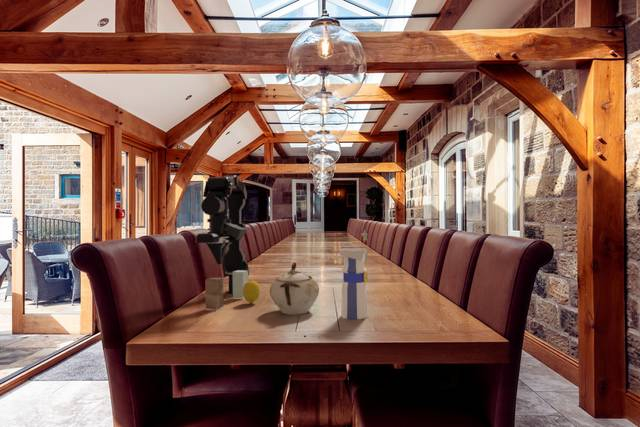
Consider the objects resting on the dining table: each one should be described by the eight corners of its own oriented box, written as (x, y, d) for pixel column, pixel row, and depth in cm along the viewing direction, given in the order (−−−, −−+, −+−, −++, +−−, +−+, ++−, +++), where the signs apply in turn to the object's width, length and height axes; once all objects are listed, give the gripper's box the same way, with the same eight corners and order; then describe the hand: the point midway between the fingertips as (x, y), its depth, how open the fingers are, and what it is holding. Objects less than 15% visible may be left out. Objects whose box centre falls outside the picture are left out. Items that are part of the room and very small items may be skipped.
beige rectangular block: (212, 307, 141) (212, 277, 141) (223, 307, 140) (223, 278, 140) (205, 309, 137) (205, 279, 137) (217, 310, 136) (216, 280, 136)
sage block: (238, 296, 158) (237, 270, 158) (248, 297, 157) (248, 270, 156) (232, 298, 154) (232, 271, 154) (243, 299, 153) (242, 272, 153)
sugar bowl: (313, 320, 122) (312, 266, 122) (261, 319, 125) (260, 266, 125) (323, 305, 142) (323, 258, 142) (279, 304, 144) (278, 258, 144)
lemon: (261, 302, 148) (261, 278, 148) (257, 305, 142) (257, 281, 142) (245, 301, 148) (245, 278, 148) (241, 305, 143) (240, 280, 143)
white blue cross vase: (371, 313, 130) (370, 228, 129) (366, 320, 121) (365, 230, 121) (344, 311, 132) (343, 228, 132) (337, 318, 124) (336, 230, 123)
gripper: (227, 215, 130) (227, 267, 130) (254, 215, 148) (254, 261, 148) (194, 215, 133) (194, 267, 133) (224, 216, 151) (225, 261, 151)
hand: (219, 264), depth 141 cm, fingers closed
